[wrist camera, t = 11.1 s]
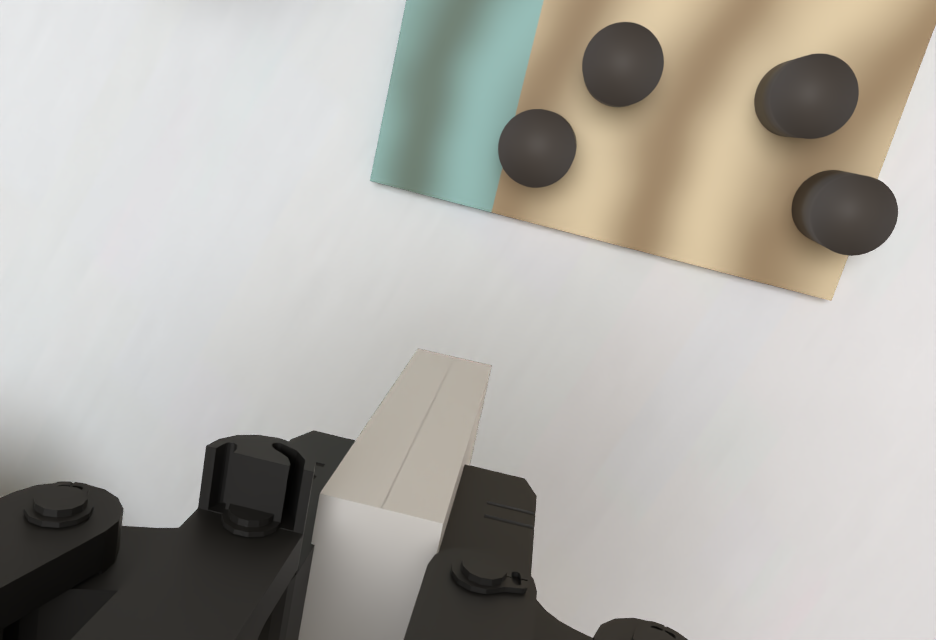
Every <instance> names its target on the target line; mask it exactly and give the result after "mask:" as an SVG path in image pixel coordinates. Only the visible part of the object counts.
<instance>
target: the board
mask: <svg viewBox="0 0 936 640" xmlns="http://www.w3.org/2000/svg"><path fill="white" fill-rule="evenodd" d="M935 25H936V0H406V5H405V10H404V15H403V20H402V25H401V30H400V35H399V40H398V45H397V49H396V54H395V59H394V64H393V69H392V74H391V79H390V84H389V89H388V94H387V99H386V104H385V109H384V114H383V119H382V124H381V129H380V134H379V139H378V144H377V149H376V154H375V159H374V164H373V169H372V174H371V179H370V181H373V182H377V183H381V184H384V185H388V186H392V187H396V188H400V189H404V190H408V191H411V192H415V193H419V194H423V195H427V196H431V197H434V198H438V199H442V200H446V201H450V202H454V203H458V204H461V205H465V206H469V207H473V208H477V209H481V210H484V211H488V212H492V213H496V214H500V215H504V216H507V217H511V218H515V219H519V220H523V221H527V222H531V223H534V224H538V225H542V226H546V227H550V228H554V229H557V230H561V231H565V232H569V233H573V234H577V235H581V236H584V237H588V238H592V239H596V240H600V241H604V242H607V243H611V244H615V245H619V246H623V247H627V248H631V249H634V250H638V251H642V252H646V253H650V254H654V255H657V256H661V257H665V258H669V259H673V260H677V261H680V262H684V263H688V264H692V265H696V266H700V267H704V268H707V269H711V270H715V271H719V272H723V273H727V274H730V275H734V276H738V277H742V278H746V279H750V280H754V281H757V282H761V283H765V284H769V285H773V286H777V287H780V288H784V289H788V290H792V291H796V292H800V293H804V294H807V295H811V296H815V297H819V298H823V299H827V300H830V301H831V300H832V298H833V295H834V292H835V290H836V287H837V284H838V282H839V279H840V277H841V274H842V271H843V269H844V266H845V263H846V261H847V258H848V255H851V256H852V255H860V254H864V253H868V252H870V251H872V250H874V249H876V248H877V247H879V246H880V245H881V244H883V243H884V242H885V241H886V240H887V239H888V237H889V236H890V235H891V233H892V232H893V230H894V227H895V225H896V222H897V217H898V206H897V202H896V199H895V196H894V194H893V193H892V191H891V190H890V189H889V187H888V186H887V185H885V184H884V183H883V182H881V181H880V180H878V176H879V173H880V171H881V168H882V165H883V163H884V160H885V157H886V155H887V152H888V149H889V147H890V144H891V141H892V139H893V136H894V134H895V131H896V128H897V126H898V123H899V120H900V118H901V115H902V112H903V110H904V107H905V104H906V102H907V99H908V96H909V94H910V91H911V89H912V86H913V83H914V81H915V78H916V75H917V73H918V70H919V67H920V65H921V62H922V59H923V57H924V54H925V51H926V49H927V46H928V43H929V41H930V38H931V36H932V33H933V30H934V28H935Z"/></svg>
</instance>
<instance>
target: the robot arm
mask: <svg viewBox="0 0 936 640" xmlns="http://www.w3.org/2000/svg"><path fill="white" fill-rule="evenodd" d="M491 367H492V365H487V364H483V363H479V362H474V361H470V360H466V359H461V358H457V357H453V356H448V355H444V354H440V353H435V352H431V351H427V350H422V349H417V351H416V352H415V354H414V355H413V357H412V358H411V360H410V361H409V363H408V364H407V366H406V367H405V369H404V370H403V371H402V373H401V374H400V376H399V377H398V379H397V380H396V382H395V383H394V385H393V386H392V388H391V389H390V391H389V392H388V394H387V395H386V397H385V398H384V399H383V401H382V402H381V404H380V405H379V407H378V408H377V410H376V411H375V413H374V414H373V416H372V417H371V419H370V420H369V422H368V423H367V425H366V426H365V428H364V429H363V430H362V432H361V433H360V435H359V436H358V438H357V439H356V441H355V440H351V439H347V438H342V437H338V436H334V435H330V434H326V433H322V432H317V431H311V432H309V433H306V434H304V435H301V436H298V437H296V438H293V439H291V440H290V441H286V440H283V439H280V438H275V437H268V436H262V435H236V436H231V437H227V438H222V439H218V440H216V441H215V442H213V443H211V444H209V445H207V446H206V452H205V460H204V468H203V475H202V483H201V491H200V498H199V506H198V509H197V510H196V511H195V512H194V513H193V514H192V515H191V516H190V517H189V518H188V519H187V520H186V521H185V522H184V523H183V524H182V525H181V526H180V527H179V528H147V527H129V526H122V516H123V507H122V505H121V503H120V501H119V499H118V498H117V497H116V496H114V495H112V494H111V493H109V492H108V491H106V490H105V489H101V488H97V487H94V486H90V485H87V484H84V483H77V482H75V483H72V482H57V483H53V484H43V485H36V486H33V487H29V488H26V489H23V490H19V491H16V492H14V493H11V494H9V495H6V496H4V497H2V498H0V640H688V639H686V638H685V637H683V636H682V635H681V634H679V633H678V632H676V631H675V630H673V629H671V628H669V627H664V625H662V624H659V623H656V622H652V621H645V620H641V619H637V618H619V619H613V620H611V621H609V622H606V623H604V624H602V625H601V626H600V627H599V629H598V630H597V632H596V634H595V635H594V638H591V637H589V636H587V635H585V634H583V633H581V632H579V631H577V630H574V629H573V628H571V627H569V626H567V625H566V624H564V623H562V622H560V621H559V620H557V619H556V618H555V617H553V616H552V615H551V614H550V613H548V612H547V611H546V610H545V609H544V608H543V607H542V606H541V604H540V603H539V602H538V601H537V600H536V595H537V591H536V587H535V583H534V579H533V578H532V577H531V566H532V552H533V538H534V524H535V511H536V497H537V496H536V494H535V493H534V492H533V490H532V489H531V487H530V486H529V484H528V483H527V481H526V480H525V479H524V478H520V477H515V476H511V475H507V474H503V473H499V472H494V471H490V470H486V469H482V468H478V467H474V466H470V462H471V458H472V453H473V448H474V444H475V439H476V435H477V430H478V426H479V421H480V417H481V412H482V408H483V403H484V399H485V394H486V390H487V385H488V381H489V376H490V372H491Z"/></svg>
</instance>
